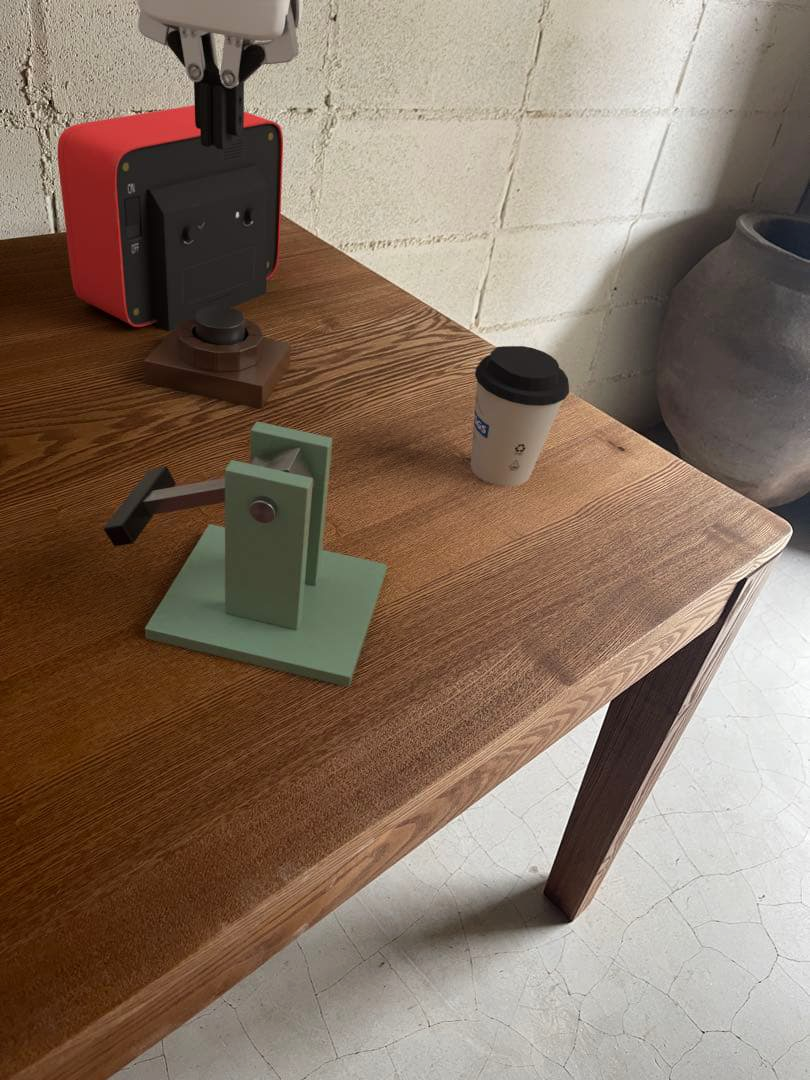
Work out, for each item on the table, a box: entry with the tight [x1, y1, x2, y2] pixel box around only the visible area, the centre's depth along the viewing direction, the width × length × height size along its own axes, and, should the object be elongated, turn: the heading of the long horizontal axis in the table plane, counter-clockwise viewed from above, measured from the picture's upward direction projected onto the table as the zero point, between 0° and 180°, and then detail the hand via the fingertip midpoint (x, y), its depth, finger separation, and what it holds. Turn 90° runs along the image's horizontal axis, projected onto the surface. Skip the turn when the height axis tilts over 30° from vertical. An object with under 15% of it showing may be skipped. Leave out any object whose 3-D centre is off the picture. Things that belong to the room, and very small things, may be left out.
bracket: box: [144, 421, 388, 688], centre depth 49 cm, size 12×10×12 cm
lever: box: [103, 448, 315, 547], centre depth 48 cm, size 11×6×2 cm, turn 79°
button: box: [195, 306, 246, 346], centre depth 71 cm, size 4×4×2 cm
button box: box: [143, 316, 292, 410], centre depth 73 cm, size 10×8×4 cm
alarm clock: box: [57, 104, 284, 332], centre depth 79 cm, size 10×20×16 cm, turn 145°
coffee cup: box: [470, 345, 570, 488], centre depth 64 cm, size 7×7×10 cm
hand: (219, 142), depth 61 cm, fingers closed
